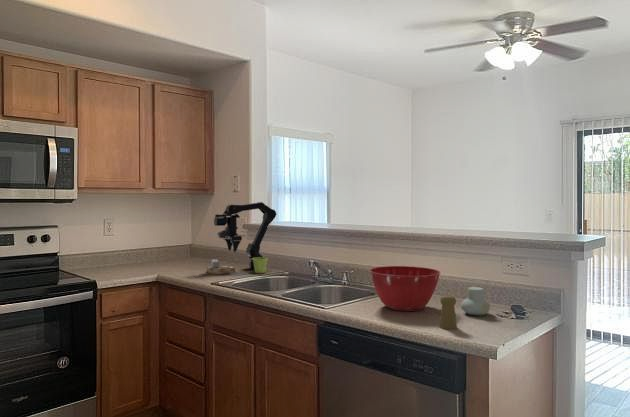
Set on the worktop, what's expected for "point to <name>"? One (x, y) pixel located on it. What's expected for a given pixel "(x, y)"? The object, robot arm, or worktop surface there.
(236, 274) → the pad
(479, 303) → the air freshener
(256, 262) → the plant pot
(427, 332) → the worktop surface
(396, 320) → the worktop surface
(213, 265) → the plug
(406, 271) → the mixing bowl
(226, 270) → the socket block
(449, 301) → the cork
